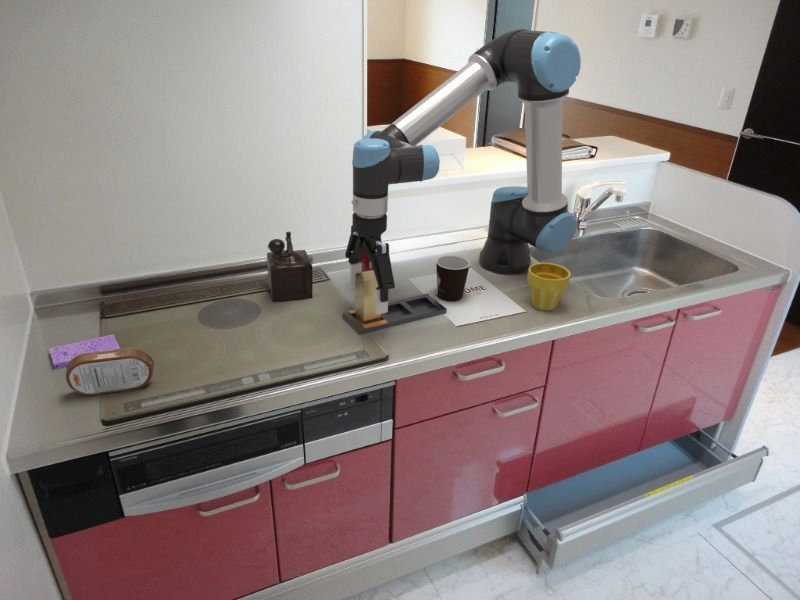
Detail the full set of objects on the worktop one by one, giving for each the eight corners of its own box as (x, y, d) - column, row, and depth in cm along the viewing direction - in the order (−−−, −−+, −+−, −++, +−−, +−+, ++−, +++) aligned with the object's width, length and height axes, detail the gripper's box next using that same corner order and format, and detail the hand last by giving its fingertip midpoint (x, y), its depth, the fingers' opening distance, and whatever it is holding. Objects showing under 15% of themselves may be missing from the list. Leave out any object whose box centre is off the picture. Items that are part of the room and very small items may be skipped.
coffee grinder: (265, 284, 155) (260, 220, 147) (306, 280, 158) (304, 217, 150) (272, 312, 142) (268, 243, 134) (317, 307, 145) (316, 239, 137)
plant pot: (539, 317, 146) (545, 282, 141) (515, 299, 154) (520, 265, 149) (572, 310, 150) (579, 275, 145) (547, 293, 158) (553, 259, 153)
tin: (156, 379, 116) (150, 343, 112) (156, 388, 114) (149, 351, 110) (72, 391, 112) (62, 354, 108) (69, 401, 109) (59, 363, 105)
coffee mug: (464, 307, 149) (468, 271, 144) (430, 302, 150) (433, 267, 146) (468, 287, 159) (472, 253, 154) (437, 283, 160) (440, 249, 156)
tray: (427, 299, 152) (427, 292, 151) (446, 314, 145) (446, 308, 144) (342, 318, 141) (342, 312, 140) (358, 336, 134) (359, 329, 133)
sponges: (51, 355, 123) (49, 347, 122) (115, 340, 129) (114, 332, 128) (54, 371, 118) (52, 364, 117) (122, 355, 124) (120, 347, 123)
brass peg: (371, 315, 142) (372, 270, 136) (380, 323, 139) (381, 277, 133) (355, 318, 140) (355, 273, 134) (363, 327, 136) (364, 281, 131)
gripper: (330, 198, 134) (331, 282, 144) (381, 234, 116) (378, 328, 125) (360, 194, 138) (359, 276, 148) (414, 229, 119) (408, 320, 129)
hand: (368, 300), depth 137 cm, fingers open, 13 cm apart
